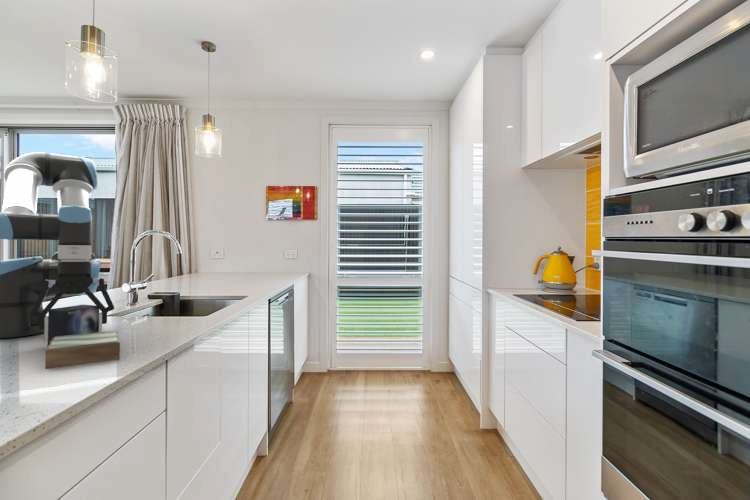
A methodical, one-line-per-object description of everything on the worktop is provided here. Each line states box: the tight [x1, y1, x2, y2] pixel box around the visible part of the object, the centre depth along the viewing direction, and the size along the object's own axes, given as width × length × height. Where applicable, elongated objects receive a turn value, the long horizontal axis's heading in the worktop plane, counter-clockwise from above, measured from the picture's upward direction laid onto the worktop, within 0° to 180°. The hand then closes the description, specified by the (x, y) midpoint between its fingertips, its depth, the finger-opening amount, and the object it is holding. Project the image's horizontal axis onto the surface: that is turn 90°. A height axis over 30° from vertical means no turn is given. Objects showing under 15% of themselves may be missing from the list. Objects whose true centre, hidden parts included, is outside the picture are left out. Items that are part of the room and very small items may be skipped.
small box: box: [46, 304, 100, 348], centre depth 111 cm, size 11×6×10 cm, turn 169°
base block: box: [44, 330, 121, 369], centre depth 99 cm, size 16×14×4 cm
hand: (74, 338), depth 111 cm, fingers closed on small box, 11 cm apart
